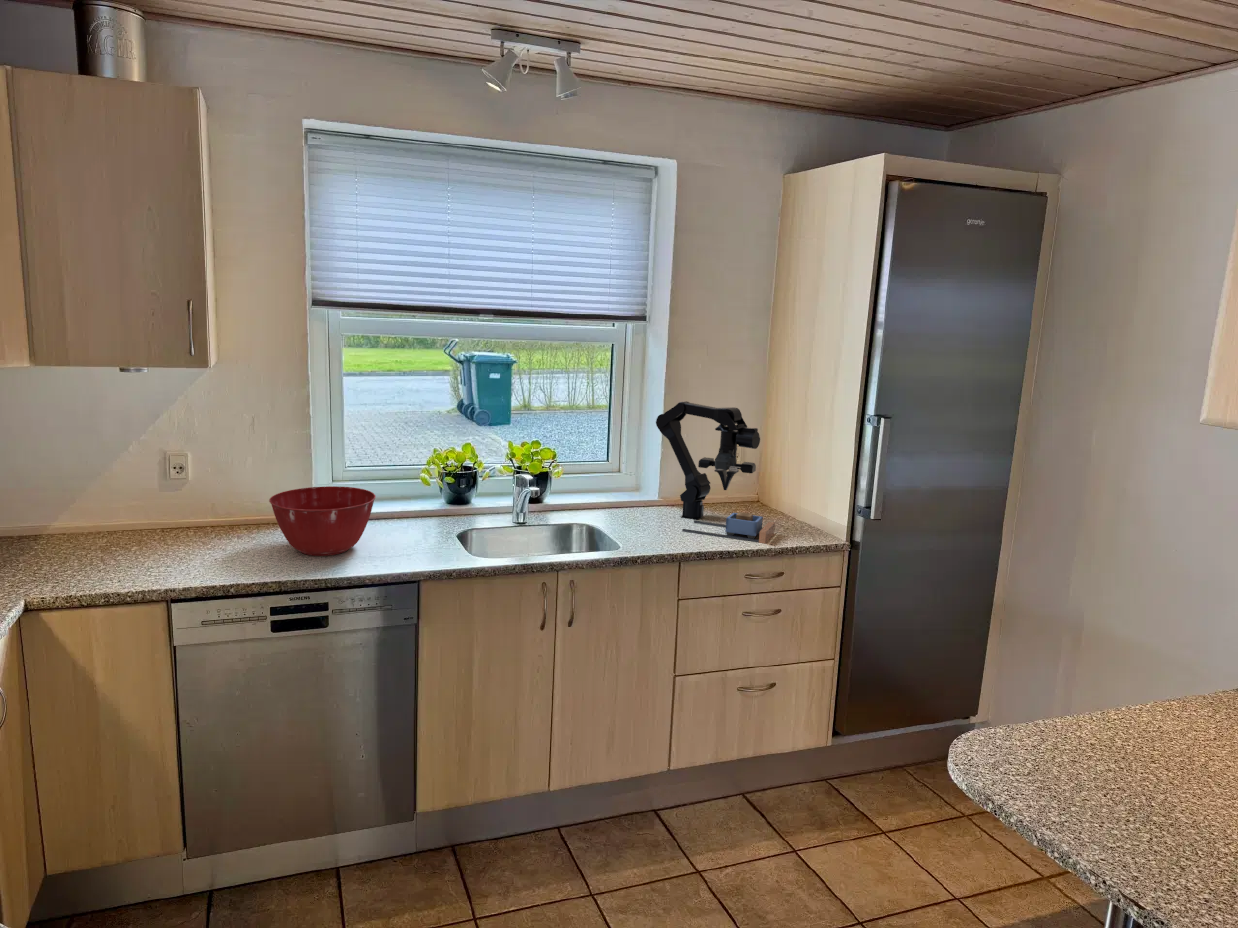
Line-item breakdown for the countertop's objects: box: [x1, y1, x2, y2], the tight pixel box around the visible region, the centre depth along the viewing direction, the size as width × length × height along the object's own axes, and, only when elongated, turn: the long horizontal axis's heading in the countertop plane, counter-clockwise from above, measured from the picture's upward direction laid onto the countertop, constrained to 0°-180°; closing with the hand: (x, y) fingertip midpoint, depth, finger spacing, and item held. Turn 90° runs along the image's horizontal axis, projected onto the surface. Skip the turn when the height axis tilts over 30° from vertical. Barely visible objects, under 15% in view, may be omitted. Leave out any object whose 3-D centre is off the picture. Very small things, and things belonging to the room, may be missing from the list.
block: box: [736, 511, 754, 521], centre depth 284 cm, size 4×4×4 cm
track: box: [681, 520, 776, 544], centre depth 286 cm, size 28×14×4 cm, turn 68°
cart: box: [724, 512, 763, 539], centre depth 284 cm, size 10×9×6 cm
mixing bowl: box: [268, 485, 377, 557], centre depth 246 cm, size 28×28×16 cm
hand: (725, 490), depth 296 cm, fingers closed
